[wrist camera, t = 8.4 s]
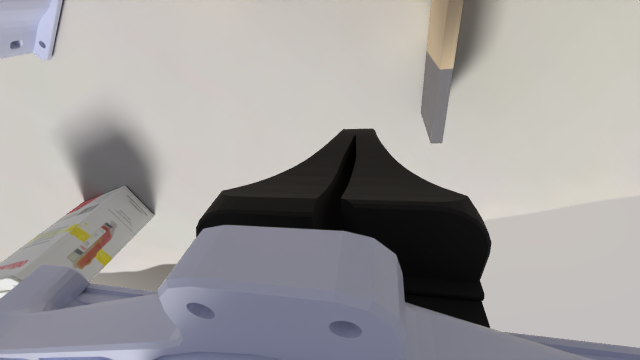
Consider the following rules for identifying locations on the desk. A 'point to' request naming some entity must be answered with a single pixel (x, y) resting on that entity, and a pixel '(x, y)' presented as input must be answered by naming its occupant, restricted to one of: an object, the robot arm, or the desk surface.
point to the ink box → (80, 238)
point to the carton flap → (439, 64)
